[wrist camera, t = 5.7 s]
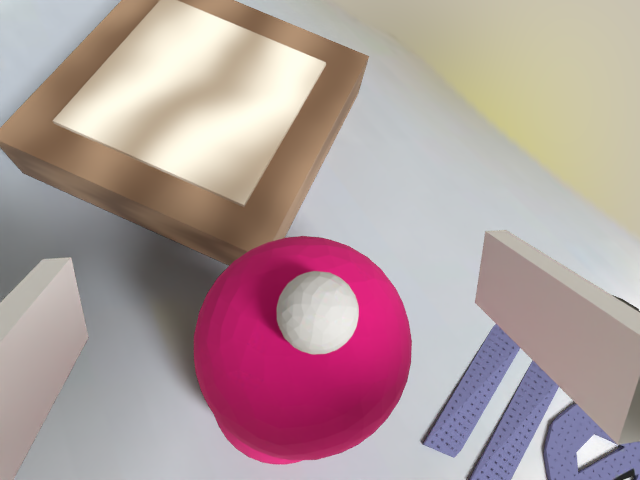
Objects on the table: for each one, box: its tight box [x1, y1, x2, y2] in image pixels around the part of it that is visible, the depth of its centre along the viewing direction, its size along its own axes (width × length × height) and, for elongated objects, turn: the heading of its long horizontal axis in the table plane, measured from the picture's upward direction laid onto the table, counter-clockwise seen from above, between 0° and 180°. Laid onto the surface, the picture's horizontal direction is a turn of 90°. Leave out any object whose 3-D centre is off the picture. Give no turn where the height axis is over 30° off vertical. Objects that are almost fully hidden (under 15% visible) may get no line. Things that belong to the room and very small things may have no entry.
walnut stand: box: [0, 0, 369, 266], centre depth 32 cm, size 18×18×4 cm
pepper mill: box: [194, 236, 412, 464], centre depth 18 cm, size 7×7×20 cm
